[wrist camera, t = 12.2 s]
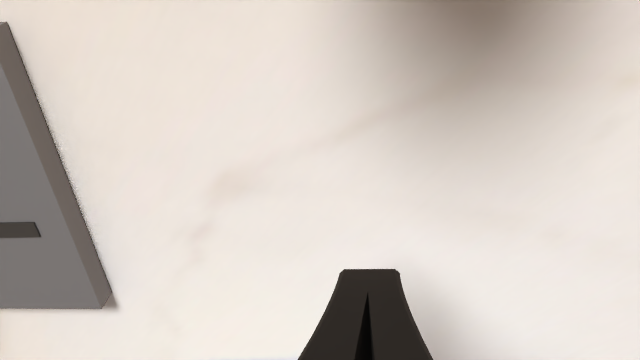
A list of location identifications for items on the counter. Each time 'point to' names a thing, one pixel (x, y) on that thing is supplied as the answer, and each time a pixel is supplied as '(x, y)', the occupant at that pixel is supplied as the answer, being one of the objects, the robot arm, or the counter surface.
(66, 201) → the fader console
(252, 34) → the counter surface
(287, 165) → the counter surface
